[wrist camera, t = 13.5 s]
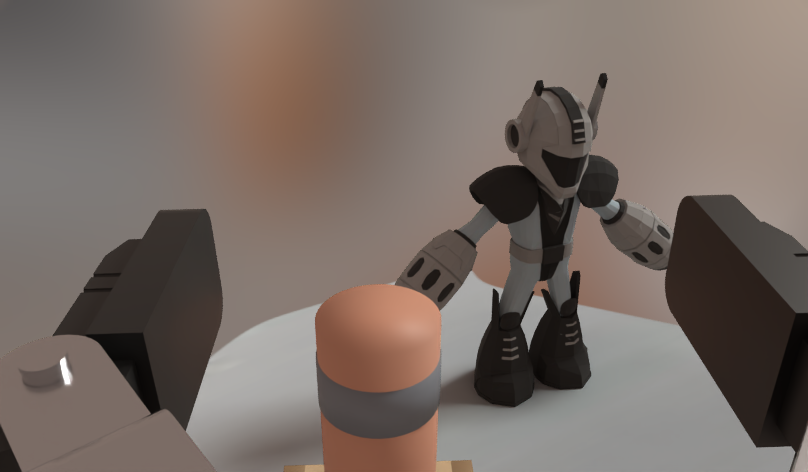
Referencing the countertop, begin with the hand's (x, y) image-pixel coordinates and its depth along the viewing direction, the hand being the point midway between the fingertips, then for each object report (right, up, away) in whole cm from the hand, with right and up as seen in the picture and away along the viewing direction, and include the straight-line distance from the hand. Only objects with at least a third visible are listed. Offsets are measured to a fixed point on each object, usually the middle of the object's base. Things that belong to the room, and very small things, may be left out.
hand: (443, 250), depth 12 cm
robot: (+8, -9, +35) cm, 37 cm away
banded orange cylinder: (-2, -15, +19) cm, 25 cm away
